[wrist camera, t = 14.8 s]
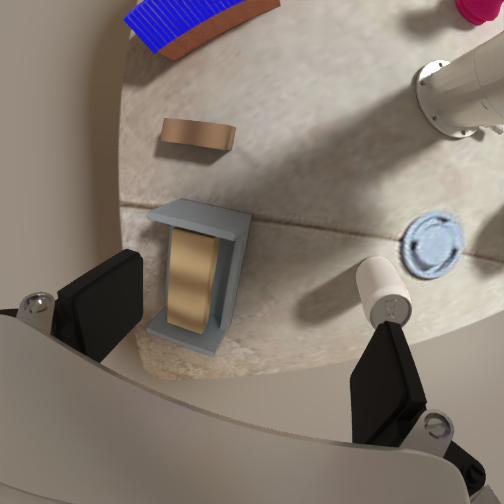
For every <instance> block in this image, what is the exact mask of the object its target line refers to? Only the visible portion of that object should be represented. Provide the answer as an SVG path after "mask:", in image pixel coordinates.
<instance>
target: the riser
mask: <svg viewBox="0 0 504 504" xmlns="http://www.w3.org/2000/svg"><path fill="white" fill-rule="evenodd" d="M235 130H236V127H232V126H229V125H223V124H216V123H208V122H200V121H191V120H180V119H168V118H164V122H163V127H162V133H161V140H160V141H165V142H173V143H181V144H189V145H196V146H202V147H209V148H215V149H221V150H232V146H233V141H234V136H235Z"/></svg>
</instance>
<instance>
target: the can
mask: <svg viewBox="0 0 504 504" xmlns="http://www.w3.org/2000/svg"><path fill="white" fill-rule="evenodd" d="M356 283H357V287H358V290H359V294H360V298H361V302H362V305H363V309H364V313H365V316H366V318H367V320H368V322H369V323H370V324H371V325H372V326H373V328H374V329H376V328H377V326H378V325H379V324H380V323H382V324H383V322H384V321H391V322H395V323H399V324H400V326H401V328H402V327H403V326H404V325H405V324H406V323H407V322H408V320H409V319H410V316H411V313H412V306H411V298H410V295H409V293H408V291H407V289H406V287H405V286H404V284H403V282H402V281H401V279H400V277H399V276H398V274H397V272H396V271H395V269H394V267H393V266H392V264H391V263H390V262H389V261H388V260H387V259H385V258H383V257H379V256H374V257H370V258H368V259H366V260H364V261H363V262H362V263H361V264H360V265H359V267H358V269H357V271H356Z"/></svg>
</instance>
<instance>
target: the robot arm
mask: <svg viewBox="0 0 504 504" xmlns="http://www.w3.org/2000/svg"><path fill="white" fill-rule="evenodd" d="M420 83H421V84H422V85H421V84H420ZM416 94H417V99H418V102H419V105H420V107H421V109H422V111H423V113H424V115H425V116H426V118H427V119H428V121H429V122H430V123H431V124H432V125H433V126H434V127H435V128H436V129H437V130H439V131H440V132H442V133H443V134H445V135H447V136H450V137H454V138H464V137H469V136H470V135H472V134H474V133H475V132H476V131H477V130H478V128H479V126H483V127H485V128H487V127H489V128H491V130H493V131H494V132H496V133H497V134H499V135H501V134H502V133H503V130H504V127H503V124H504V31H503V32H501V33H500V34H498V35H496V36H495V37H493V38H492V39H490V40H488V41H486V42H485V43H483V44H481V45H479V46H477V47H476V48H474V49H472V50H470V51H469V52H467V53H465V54H463V55H462V56H460V57H458V58H457V59H455V60H453V61H452V62H447V61H433V62H430V63H429V64H427V65H426V66H424V67H423V68H422V69H421V71H420V72H419V74H418V77H417V81H416ZM432 117H433V119H434V120H433V119H432ZM461 132H462V133H461ZM57 293H58V299H57V300H56V301H55V299H54V297H53V296H52V295H51V294H49V293H44V292H36V293H32V294H30V295H28V296H26V297H25V298H24V299H23V300H22V302H21V303H20V306H19V309H5V310H4V309H3V310H0V504H501V503H500V501H499V500H498V498H497V497H496V495H495V494H494V492H493V491H492V489H491V488H490V487H489V485H487V486H484V484H485V480H486V474H485V470H484V468H483V466H482V465H481V464H480V463H479V462H478V461H477V460H476V459H475V458H473V457H472V456H471V455H470V454H468V453H467V452H466V451H465V450H463V449H462V448H461V447H460V446H458V445H457V444H456V443H454V442H453V441H452V438H453V434H454V426H453V423H452V421H451V420H450V418H449V417H448V416H447V415H446V414H445V413H443V412H441V411H440V410H436V409H429V410H427V409H426V405H425V404H426V403H427V401H426V397H425V394H424V391H423V387H422V384H421V381H420V378H419V375H418V372H417V369H416V366H415V363H414V360H413V358H412V355H411V352H410V349H409V346H408V344H407V341H406V338H405V336H404V333H403V331H402V328H401V326H400V324H399V323H395V322H391V321H384V322H383V324H382V323H380V324H379V325H378V326H377V328H376V330H375V332H374V334H373V336H372V338H371V340H370V342H369V344H368V345H367V347H366V349H365V351H364V353H363V355H362V356H361V358H360V360H359V362H358V364H357V365H356V367H355V369H354V370H353V372H352V374H351V377H350V393H351V411H352V443H346V442H340V441H332V440H326V439H319V438H313V437H308V436H302V435H297V434H292V433H287V432H282V431H277V430H273V429H269V428H265V427H261V426H257V425H253V424H250V423H246V422H243V421H239V420H235V419H232V418H229V417H226V416H222V415H219V414H216V413H213V412H210V411H207V410H204V409H201V408H198V407H196V406H193V405H190V404H188V403H185V402H182V401H180V400H177V399H175V398H172V397H170V396H167V395H165V394H162V393H160V392H157V391H155V390H153V389H151V388H148V387H146V386H144V385H142V384H140V383H137V382H135V381H133V380H131V379H129V378H127V377H125V376H123V375H120V374H119V373H117V372H115V371H113V370H111V369H109V368H107V367H105V366H103V365H102V364H100V362H101V361H102V360H103V359H104V358H105V357H106V356H107V355H108V354H109V353H110V352H111V351H112V350H113V349H114V348H115V346H116V345H117V344H118V343H119V342H120V341H121V340H122V339H123V338H124V337H125V336H126V335H127V334H128V333H129V332H130V331H131V329H133V328H134V326H135V325H136V324H137V323H138V322H139V321H140V320H141V318H142V316H143V258H142V257H141V256H140V254H139V252H135V251H132V250H129V249H125V250H123V251H121V252H119V253H118V254H116V255H115V256H113V257H112V258H109V259H108V260H106V261H105V262H103V263H101V264H100V265H98V266H96V267H95V268H93V269H92V270H90V271H88V272H87V273H85V274H84V275H82V276H81V277H79V278H77V279H76V280H74V281H73V282H71V283H70V284H68V285H67V286H65V287H64V288H62V289H61V290H59V291H58V292H57Z"/></svg>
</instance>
